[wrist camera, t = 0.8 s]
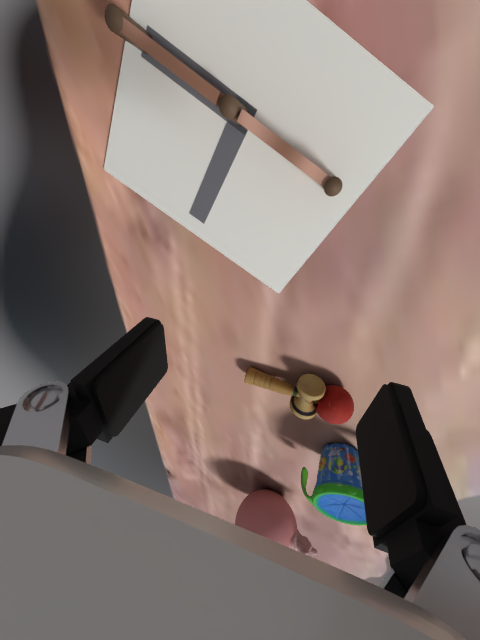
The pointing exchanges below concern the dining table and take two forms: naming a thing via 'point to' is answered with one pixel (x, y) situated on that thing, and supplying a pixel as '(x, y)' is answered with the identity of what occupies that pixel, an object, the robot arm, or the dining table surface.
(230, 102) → the base
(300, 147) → the card
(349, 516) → the snack cup
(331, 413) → the kendama
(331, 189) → the swing panel
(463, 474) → the dining table surface
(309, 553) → the balloon
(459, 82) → the dining table surface
